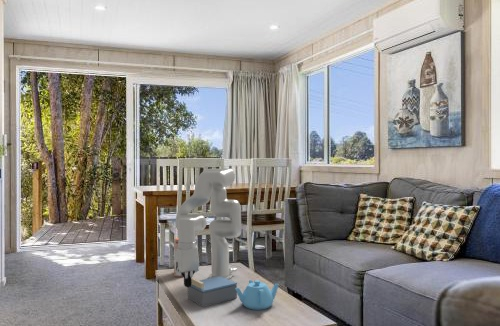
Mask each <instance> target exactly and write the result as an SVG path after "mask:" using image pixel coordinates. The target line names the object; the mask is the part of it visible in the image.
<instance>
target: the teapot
mask: <svg viewBox="0 0 500 326" xmlns="http://www.w3.org/2000/svg"><path fill="white" fill-rule="evenodd" d="M279 286H280V284H279V283H274V284H273V287H272V288H271V289H270V287H269V286H268V285H267V283H265V282H263V281H262V282H261V280H258V279H256V280H254V281H253V280H251V279H250V280H248V284H247V285H246V287H245V288H244V290H243V292H242V290H241V288H240V287H237V288H235V289H236V291H237V297H238V298H239V301H240V302H241V303H242V305H243V306H244V307H245V308H246V309H249V310H254V311H256V310H257V311H259V310H266V309H268V308H270V307H271V306H272V305H273V303H274V300H275V298H276V295H277V293H278V288H279Z"/></svg>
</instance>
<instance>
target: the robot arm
mask: <svg viewBox="0 0 500 326" xmlns="http://www.w3.org/2000/svg"><path fill="white" fill-rule="evenodd" d="M235 178H236V174H235V172H234V170H233V169H232V168H206V169H204V170H203V171H202V172H201V173H200V174H199V176H198V179H197V181H196V184H195V188H194V191H193V194H192V195H191V196H190V197H188V198H187V199H186V200H184V202H183V203H182V204H181V205H180V206H179V208H178V211H177V214H176V217H175V220H174V221H175V222H174V223H175V227H176V229H177V230H178V232H177V233H178V234H177V238H178V248H179V249H177V250H176V256H175V270H176V275H181V276H183V277H182V278H183V285H184V287H185V288H188V287H191V284H192V281H191V278H194V277H193V276H194V274H195V273H197V272H199V271H200V270H199V267H200V259H199V251H198V248H197V247H196V246H197V245H198V244H199V242H198V241H197V240H196V232H202V231H204V229H206V226H207V224H208V223H207V218H206V217H205V216H204V215H201V214H190V212H191V211H192V210H194V209H197V208H199V207H202V206H204V205H207V204H208V203H209V202H210V206H211V207H210V208H211V214H212V216H214V217H216V218H217V219H212V220H211V221H210V222H209V225H208V230H209V237H210V248H211V249H210V251H211V255H210V258H211V273H210V274H209V275H208V279H209V278H214V277H218V276H221V277H224V278H226V279H229V280H231V279H232V278H233V275H232V273H236V272H237V271H238V270H237V268H236V267H234V268H232V267H230V252H229V251H230V249H229V248H230V247H229V245H230V244H229V242H228V241H227V238H239V237H240V236H241V234H242V211H241V210H242V209H241V204H240V201H239V200H236V199H228V197H227V196H228V195H227V187H229V186H232V184H234V182H235V180H236V179H235ZM218 218H219V219H218ZM220 218H222V219H220ZM223 218H230V219H223ZM187 272H188V274H187Z"/></svg>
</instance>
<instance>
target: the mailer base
mask: <svg viewBox="0 0 500 326" xmlns="http://www.w3.org/2000/svg"><path fill="white" fill-rule="evenodd" d="M237 286H238V284H237V285H233V286H229V287H225V288H220V289H216V290H212V291H208V292H201V291H199V290H197V289H195V288H193V287H187V300H190V301H192V302H193V303H195V304H197V305H199V306H201V307H202V308H203V307H208V306H211V305H215V304H219V303H223V302H227V301H231V300H235V299H237V298H238V294H237V291H236V289H235V288H238V287H237Z"/></svg>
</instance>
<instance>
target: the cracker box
mask: <svg viewBox="0 0 500 326" xmlns="http://www.w3.org/2000/svg"><path fill="white" fill-rule="evenodd" d="M177 249H179V248H178V237H176V238H174V239H173V276H174V277H178V278H179V277H180V278H184V277H183V276H181V275H176V270H175V256H176V250H177ZM187 274H188V272H187Z"/></svg>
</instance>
